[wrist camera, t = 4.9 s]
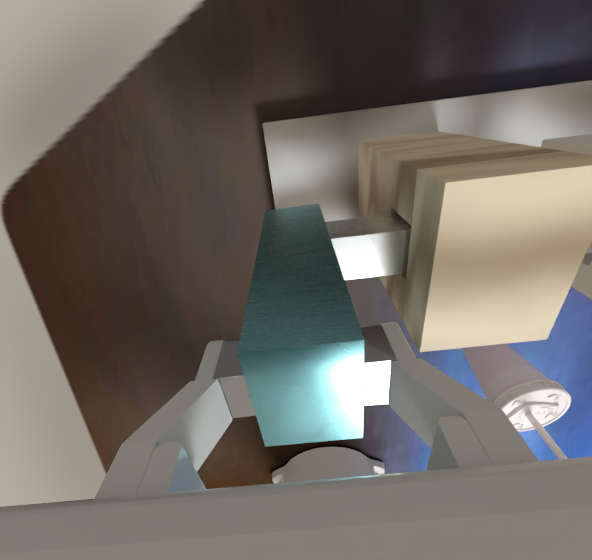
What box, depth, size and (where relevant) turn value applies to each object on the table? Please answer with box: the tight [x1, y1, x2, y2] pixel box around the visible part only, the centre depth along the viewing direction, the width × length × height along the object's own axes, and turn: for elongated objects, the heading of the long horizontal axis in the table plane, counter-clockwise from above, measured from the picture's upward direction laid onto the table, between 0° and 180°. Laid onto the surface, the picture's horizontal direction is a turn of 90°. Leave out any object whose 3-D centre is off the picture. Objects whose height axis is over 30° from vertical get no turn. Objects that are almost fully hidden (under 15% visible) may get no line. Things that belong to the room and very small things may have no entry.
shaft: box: [237, 204, 592, 447], centre depth 12 cm, size 4×27×11 cm, turn 96°
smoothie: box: [461, 344, 571, 459], centre depth 28 cm, size 6×6×14 cm
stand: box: [262, 80, 592, 352], centre depth 18 cm, size 12×32×15 cm, turn 96°
